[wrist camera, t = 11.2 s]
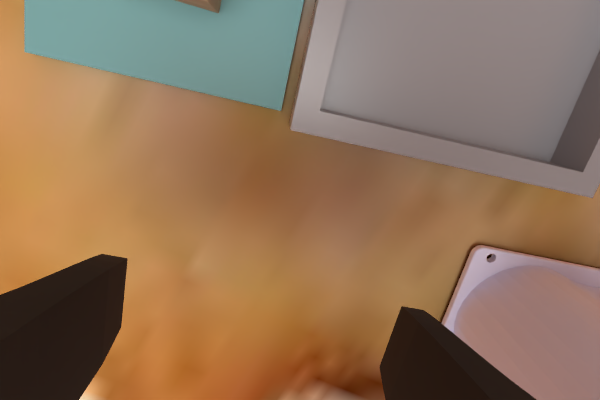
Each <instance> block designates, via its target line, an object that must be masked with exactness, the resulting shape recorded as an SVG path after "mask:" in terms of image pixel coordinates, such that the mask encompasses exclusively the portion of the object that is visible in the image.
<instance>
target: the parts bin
mask: <svg viewBox="0 0 600 400" xmlns="http://www.w3.org/2000/svg"><path fill="white" fill-rule="evenodd" d="M289 125H290V130H293V131H297V132H301V133H306V134H310V135H315V136H319V137H324V138H328V139H332V140H337V141H341V142H346V143H350V144H355V145H359V146H364V147H368V148H372V149H377V150H381V151H386V152H390V153H395V154H399V155H404V156H408V157H412V158H417V159H421V160H426V161H430V162H435V163H439V164H443V165H448V166H452V167H457V168H461V169H466V170H470V171H475V172H479V173H483V174H488V175H492V176H497V177H501V178H506V179H510V180H515V181H519V182H523V183H528V184H532V185H537V186H541V187H546V188H550V189H555V190H559V191H563V192H568V193H572V194H577V195H581V196H586V197H590V198H593V196H594V194H595V192H596V190H597V188H598V186H599V184H600V0H316V1H315V6H314V11H313V15H312V20H311V24H310V29H309V34H308V38H307V43H306V48H305V52H304V57H303V61H302V66H301V71H300V75H299V80H298V85H297V89H296V94H295V98H294V103H293V108H292V112H291V117H290V122H289Z"/></svg>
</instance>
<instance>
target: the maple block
mask: <svg viewBox="0 0 600 400" xmlns="http://www.w3.org/2000/svg"><path fill="white" fill-rule="evenodd" d="M175 1H179V2H182V3H185V4H189V5H192V6H195V7H199V8H202V9H205V10H209V11H212V12H215V13H219V10H220V5H221V0H175Z"/></svg>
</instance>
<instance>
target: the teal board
mask: <svg viewBox="0 0 600 400" xmlns="http://www.w3.org/2000/svg"><path fill="white" fill-rule="evenodd" d="M303 3H304V0H221V5H220V10H219V13H215V12H212V11H209V10H205V9H202V8H199V7H195V6H192V5H189V4H185V3H182V2H179V1H175V0H25V52H27V53H32V54H36V55H40V56H45V57H49V58H53V59H58V60H62V61H66V62H71V63H75V64H79V65H84V66H88V67H92V68H97V69H101V70H105V71H110V72H114V73H118V74H123V75H127V76H131V77H136V78H140V79H144V80H149V81H153V82H157V83H162V84H166V85H170V86H175V87H179V88H183V89H188V90H192V91H196V92H201V93H205V94H209V95H214V96H218V97H222V98H227V99H231V100H235V101H240V102H244V103H248V104H253V105H257V106H261V107H266V108H270V109H274V110H279V111H281V109H282V104H283V99H284V94H285V89H286V84H287V80H288V75H289V70H290V65H291V60H292V56H293V51H294V46H295V41H296V36H297V31H298V27H299V22H300V17H301V12H302V7H303Z"/></svg>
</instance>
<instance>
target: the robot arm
mask: <svg viewBox="0 0 600 400" xmlns="http://www.w3.org/2000/svg"><path fill="white" fill-rule="evenodd" d="M489 254H492V256H491V257H490V258H489V259H486V258H487V256H488V255H489ZM126 269H127V258H122V257H116V256H110V255H105V254H101V255H98V256H95V257H92V258H89V259H87V260H84V261H82V262H80V263H77V264H75V265H72V266H70V267H68V268H65V269H63V270H61V271H58V272H56V273H54V274H51V275H49V276H46V277H44V278H42V279H39V280H37V281H34V282H32V283H30V284H27V285H25V286H22V287H20V288H17V289H15V290H12V291H9V292H7V293H4V294H1V295H0V400H79V399H80V397H81V396H82V394H83V393H84V391H85V390H86V388H87V387H88V385H89V384H90V382H91V381H92V379H93V378H94V376H95V375H96V373H97V371H98V370H99V368H100V367H101V365H102V364H103V362H104V360H105V358H106V356H107V354H108V352H109V350H110V348H111V346H112V344H113V342H114V340H115V338H116V336H117V334H118V332H119V330H120V328H121V322H122V312H123V301H124V290H125V279H126ZM380 372H381V378H382V384H383V389H384V394H385V399H386V400H600V269H599V268H594V267H589V266H584V265H579V264H574V263H569V262H564V261H559V260H554V259H549V258H544V257H539V256H534V255H529V254H524V253H519V252H514V251H509V250H504V249H499V248H494V247H489V246H484V245H478V246H476V247H474V248H473V249H472V251H471V252H470V255H469V257H468V260H467V262H466V265H465V267H464V269H463V272H462V274H461V277H460V279H459V282H458V284H457V287H456V289H455V291H454V294H453V296H452V299H451V301H450V304H449V306H448V308H447V311H446V313H445V316H444V318H443V321H442V323H440V322H439V321H438V320H436V319H435V318H434V317H432V316H431V315H430V314H428V313H427V312H425V311H424V310H420V309H414V308H408V307H403V306H402V307H401V310H400V312H399V315H398V318H397V321H396V323H395V326H394V329H393V331H392V334H391V337H390V340H389V342H388V345H387V348H386V351H385V353H384V356H383V359H382V362H381V364H380Z"/></svg>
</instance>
